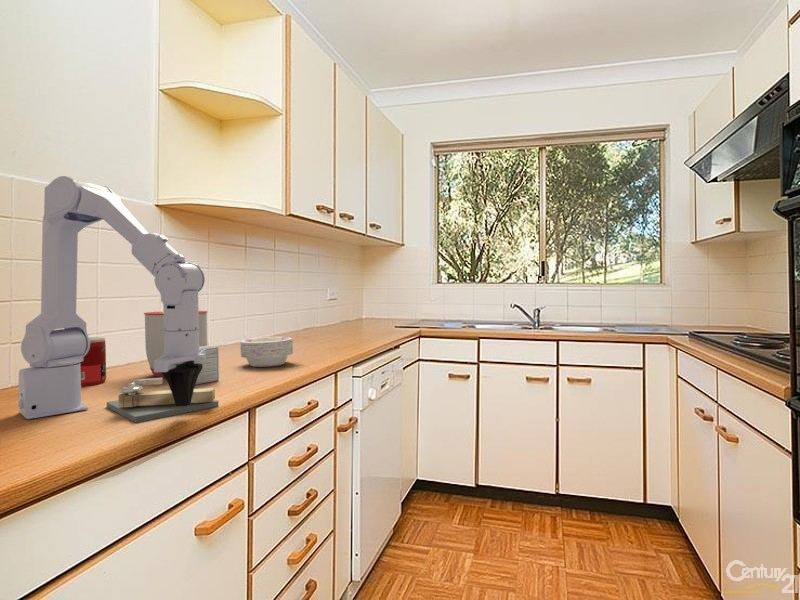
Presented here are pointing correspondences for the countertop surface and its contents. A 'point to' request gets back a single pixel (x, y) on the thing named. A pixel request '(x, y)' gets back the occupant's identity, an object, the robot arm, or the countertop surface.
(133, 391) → the pintle
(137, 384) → the keeper
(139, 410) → the base plate
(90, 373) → the canned food
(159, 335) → the citrus juicer
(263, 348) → the grey stone bowl
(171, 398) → the link
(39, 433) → the countertop surface
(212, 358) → the medicine box
